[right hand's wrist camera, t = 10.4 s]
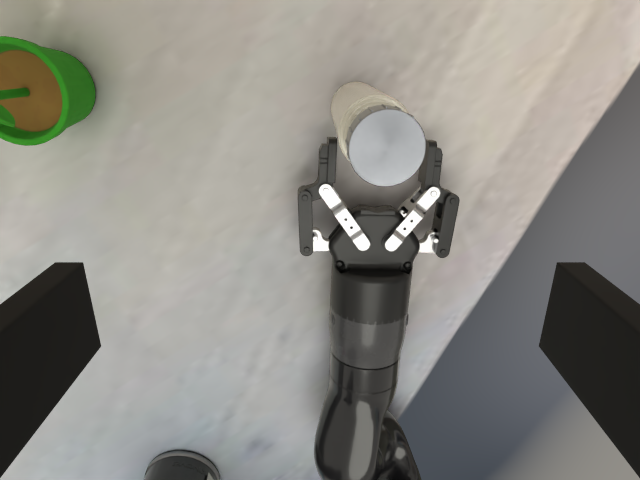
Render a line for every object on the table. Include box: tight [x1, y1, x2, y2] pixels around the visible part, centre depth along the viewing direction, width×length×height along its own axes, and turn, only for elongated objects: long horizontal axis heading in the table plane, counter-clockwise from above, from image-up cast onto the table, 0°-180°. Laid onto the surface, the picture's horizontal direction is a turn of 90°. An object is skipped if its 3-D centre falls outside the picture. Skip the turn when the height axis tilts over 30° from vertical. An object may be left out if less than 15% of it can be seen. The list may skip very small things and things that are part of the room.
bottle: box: [331, 82, 408, 162], centre depth 32 cm, size 4×4×20 cm
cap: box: [345, 104, 426, 187], centre depth 23 cm, size 4×4×2 cm
